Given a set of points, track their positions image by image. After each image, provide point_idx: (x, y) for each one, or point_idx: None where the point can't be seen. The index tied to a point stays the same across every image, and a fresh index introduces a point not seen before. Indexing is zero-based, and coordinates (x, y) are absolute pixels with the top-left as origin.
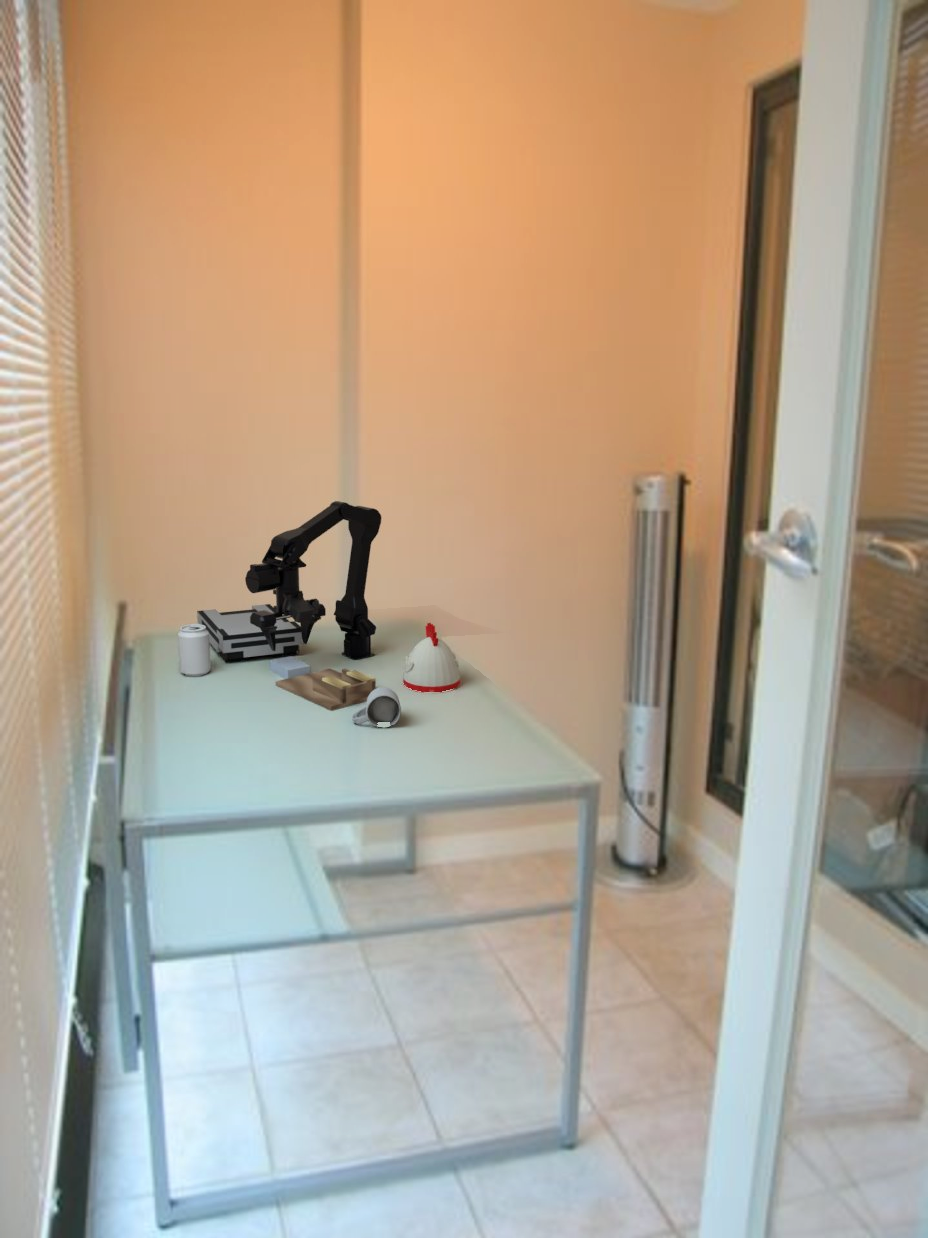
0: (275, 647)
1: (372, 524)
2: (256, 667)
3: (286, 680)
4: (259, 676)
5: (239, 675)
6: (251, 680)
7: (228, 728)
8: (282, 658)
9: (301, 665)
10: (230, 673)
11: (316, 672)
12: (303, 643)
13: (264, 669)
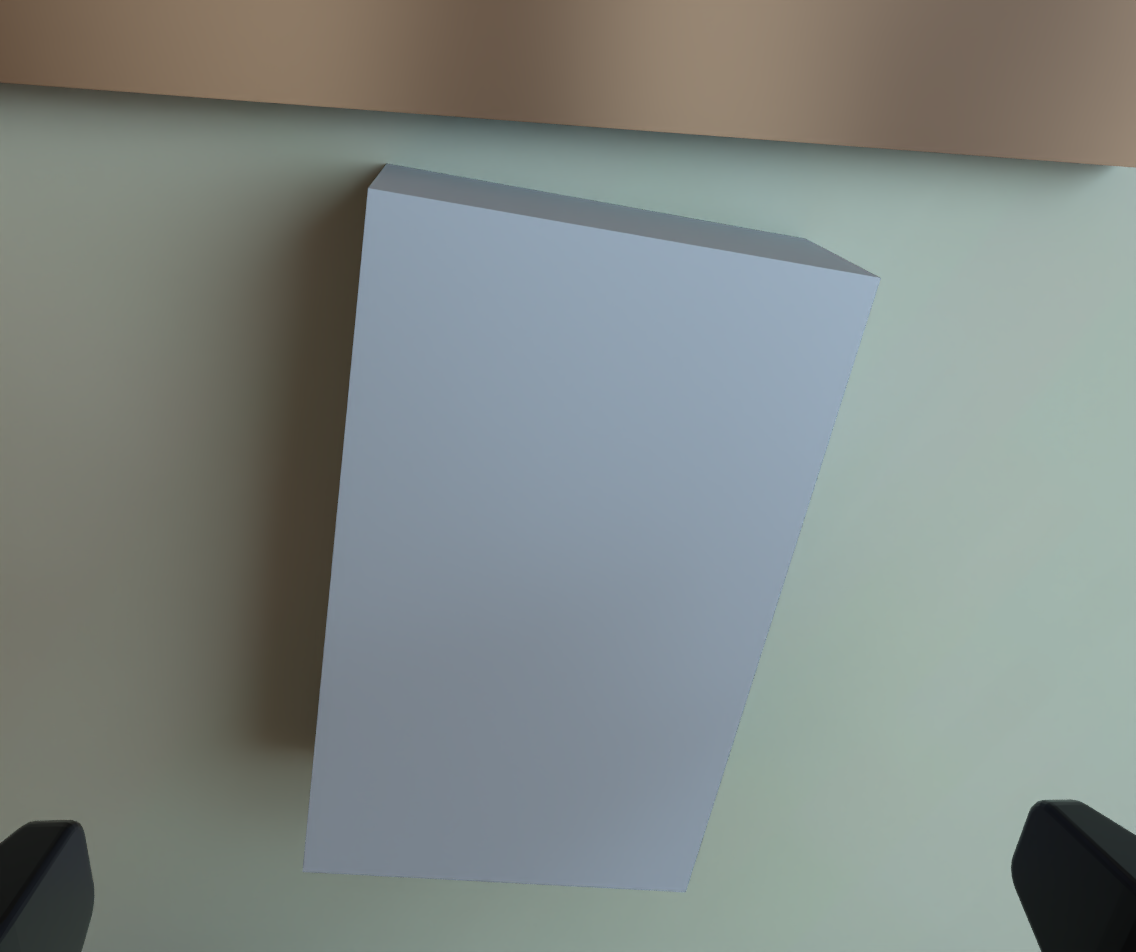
0: (1117, 858)
1: None
2: (707, 923)
3: (1020, 70)
4: (934, 650)
5: None
6: (1118, 584)
7: None
8: (492, 850)
9: (482, 347)
10: None
11: (280, 54)
12: (93, 893)
13: None
